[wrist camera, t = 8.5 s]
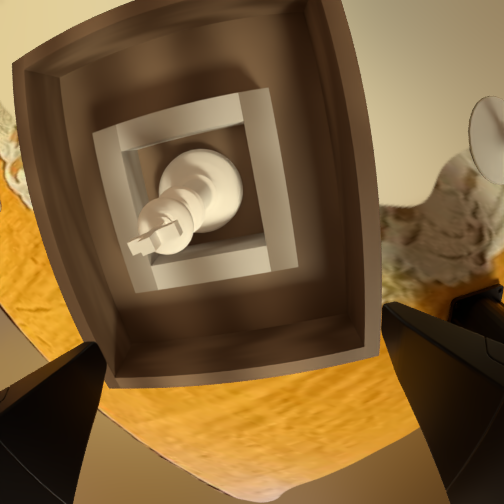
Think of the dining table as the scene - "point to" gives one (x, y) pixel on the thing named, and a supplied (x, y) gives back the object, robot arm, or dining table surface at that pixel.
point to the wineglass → (488, 138)
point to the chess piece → (188, 202)
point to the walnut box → (251, 172)
